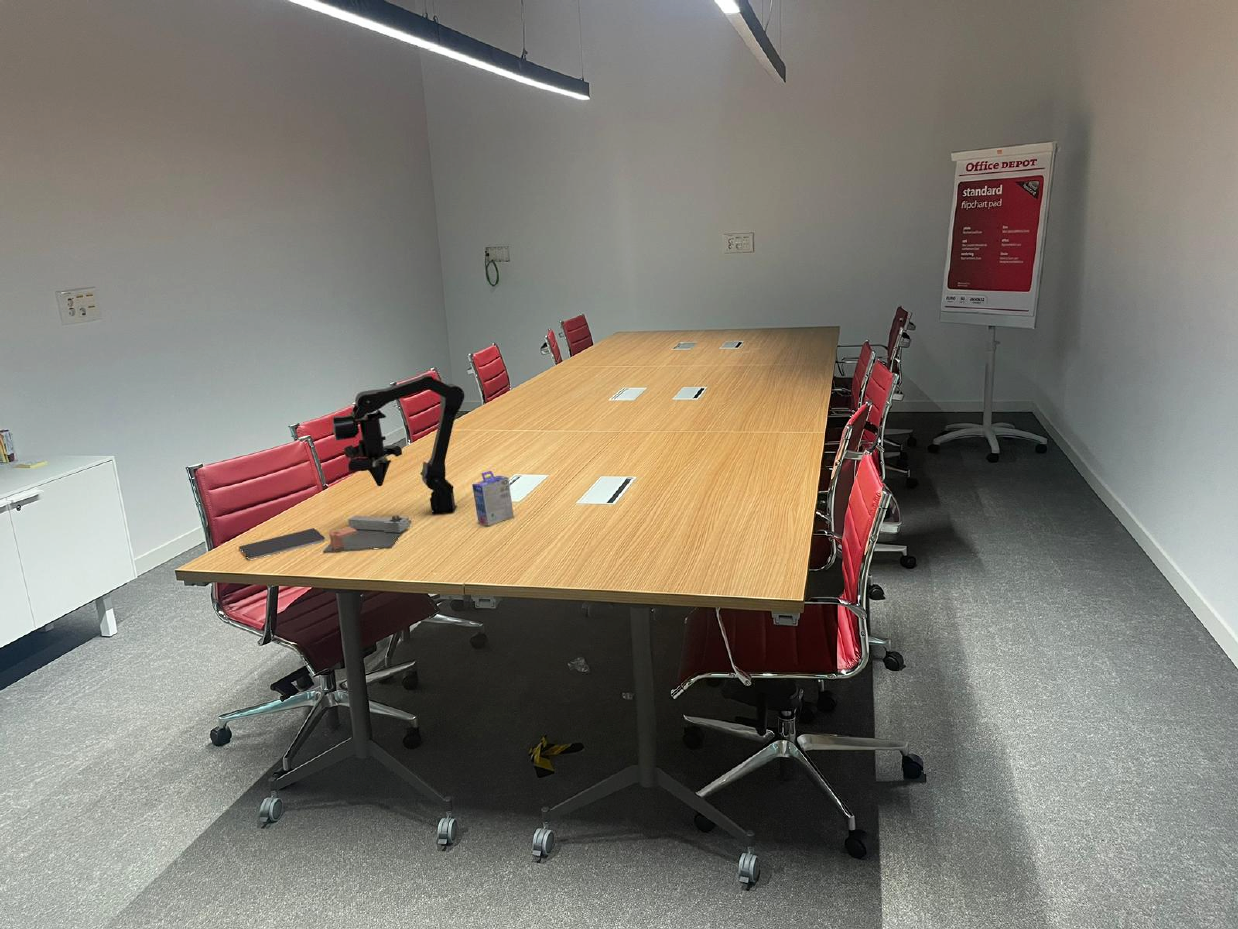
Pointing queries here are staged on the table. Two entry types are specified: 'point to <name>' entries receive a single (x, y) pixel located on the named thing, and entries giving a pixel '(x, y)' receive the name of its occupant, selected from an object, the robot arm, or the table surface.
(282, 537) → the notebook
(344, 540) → the pintle plate
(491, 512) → the ink cartridge box
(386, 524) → the link
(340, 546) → the keeper
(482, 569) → the table surface
